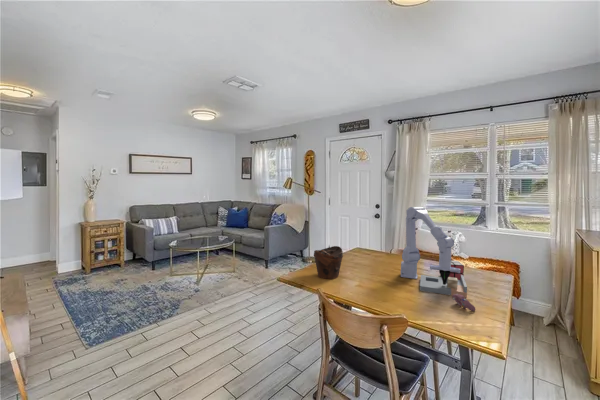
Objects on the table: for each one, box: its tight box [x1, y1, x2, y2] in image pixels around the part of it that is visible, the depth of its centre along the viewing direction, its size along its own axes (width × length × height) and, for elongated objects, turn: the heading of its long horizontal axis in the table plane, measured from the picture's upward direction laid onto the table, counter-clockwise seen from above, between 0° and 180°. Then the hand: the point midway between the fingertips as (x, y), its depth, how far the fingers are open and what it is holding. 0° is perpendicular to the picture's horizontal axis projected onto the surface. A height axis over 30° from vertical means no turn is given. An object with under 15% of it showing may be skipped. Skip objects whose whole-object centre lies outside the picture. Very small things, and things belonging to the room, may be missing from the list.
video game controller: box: [451, 293, 476, 312], centre depth 131 cm, size 10×5×7 cm, turn 6°
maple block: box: [447, 277, 458, 289], centre depth 150 cm, size 4×4×4 cm
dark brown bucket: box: [313, 245, 344, 280], centre depth 174 cm, size 18×20×18 cm
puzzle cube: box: [444, 259, 465, 280], centre depth 170 cm, size 10×10×10 cm
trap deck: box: [419, 274, 468, 299], centre depth 155 cm, size 22×20×6 cm
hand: (444, 284), depth 151 cm, fingers closed
